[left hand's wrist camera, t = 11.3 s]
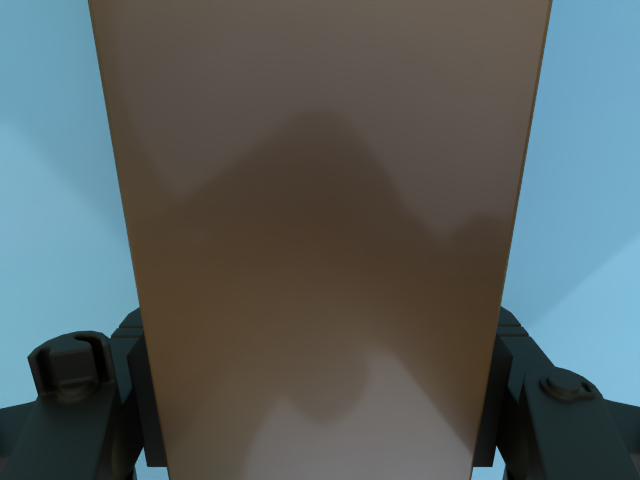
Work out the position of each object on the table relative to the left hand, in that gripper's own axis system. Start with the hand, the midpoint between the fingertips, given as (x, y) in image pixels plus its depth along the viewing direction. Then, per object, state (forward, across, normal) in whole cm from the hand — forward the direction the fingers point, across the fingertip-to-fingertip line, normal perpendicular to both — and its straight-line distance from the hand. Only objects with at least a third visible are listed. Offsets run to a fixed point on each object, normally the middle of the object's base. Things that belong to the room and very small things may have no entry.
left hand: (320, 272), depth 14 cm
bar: (+1, 0, -33) cm, 33 cm away
